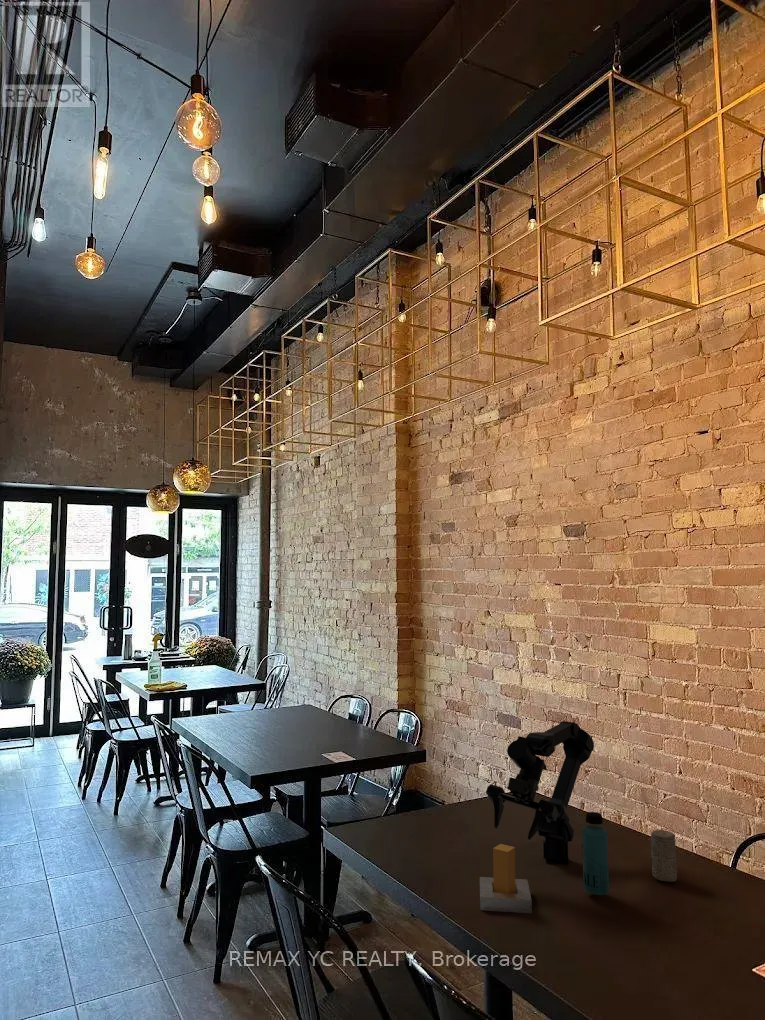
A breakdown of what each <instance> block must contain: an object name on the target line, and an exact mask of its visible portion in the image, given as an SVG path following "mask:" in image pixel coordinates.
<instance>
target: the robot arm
mask: <svg viewBox="0 0 765 1020" xmlns="http://www.w3.org/2000/svg"><path fill="white" fill-rule="evenodd" d="M560 744H562V745H563V746H562V749H563V751H564V756H565V757H564V761H563V763H562V765H561V768H560V772H559V774H558V778H557V781H556V784H555V786H554V790H553V792H552V794H551V797H550V799H549V800H545V799H539V801H538V802H537V801H535V797H536V793H537V792H538V791H539V788H540V787H539V784H540V781H541V776H542V775H543V774H542V773H543V771H547V769H548V768H547V765H546V763H545V760H544V759H543V758H541V757H545V758H549V757H551V756H552V754H554V753H555V752H556V747H557V746H558V745H560ZM594 748H595V741H594V740H593V738H592V736H591V735H590V733H588V732H587V731H585V730H584V729H582V728H581V727H580V725H579V724H578V723H576V722H573V721H566V720H562V721H560V722H559V724H557V725H555V726H553V727H551V728H549V729H547V730H545V731H535V732H529V733H527V735H526V737H525V736H519V735H518V736H517V739H516V740H514V741H512V742H510V744H509V745H507V749H506V753H507V756H508V757H509V759H511V761H512V762H513V763H514V764H515V765H516V766H517V768H519V769H520V770H519V772H518V773H517V774H516V775H515V776H516V777H515V778H514V777H511V776H509V779H508V784H507V787H506V788H507V790H508V791H509V792H510V793H511V794H510V793H507V792H506V791H505V790H504V788H503V787H501V786H499V785H495V784H492V783H491V784H489V785H488V786H487V787H486V791H485V794H486V795H487V797H488V798H489V800H490V801H491V803H492V804H493V808H494V811H493V812H494V819H493V820H494V821H493V823H494V829H496V830H497V829H498V827H499V825H500V822H501V818H502V816H503V813H504V810H505V805H504V803H506V802H510V803H512V804H515V805H518V806H522V807H525V808H528V809H531V810H534V812H535V813H534V818H533V821H532V824H531V825H530V828H529V831H528V833H527V835H528V836H527V840H529V841H531V839H532V838H533V837H534V836H535V835H536V833H537V832H538V837H539V836H540V837H543V838H544V839H543V840H542V843H541V844H542V845H541V847H542V849H541V850H542V858H543V859H544V861H545V863H546V864H559V865H570V860H569V842H572V841H573V839H574V833H575V830H574V829H573V827H572V826H571V824H570V816H569V811H568V806H569V802H570V801H571V800H570V799H571V797H572V795H573V794H572V793H573V790H574V787H575V784H576V780H577V777H578V776H579V771H580V768H581V766H582V765H583V764H584V763H586V762H587V761H588V760H589V759H590V757H591V754H592V752H593V751H594Z"/></svg>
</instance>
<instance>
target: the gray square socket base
mask: <svg viewBox="0 0 765 1020" xmlns="http://www.w3.org/2000/svg"><path fill="white" fill-rule="evenodd" d="M515 884H516V894H511V893H494V878H493V877H491V876H490V877H489V876H479V899H480V900H479V902H480V911H485V912H486V911H489V912H501V913H502V912H505V913H517V914H518V913H519V914H521V913H522V914H532V913H533V911H532V910H533V909H532V907H533V906H532V903H533V902H532V901H533V900H532V897H531V891H530V887H529V882H528V879H524V878H515Z"/></svg>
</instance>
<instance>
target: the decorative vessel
mask: <svg viewBox="0 0 765 1020" xmlns="http://www.w3.org/2000/svg"><path fill="white" fill-rule="evenodd" d="M675 836H676V835H675V834H674V833H673V832H672V831H668V830H665V829H655V830H652V831H651V834H650V850H651V852H650V853H651V855H650V856H651V867H652V869H651V871H652V876H653V878H654V879H656V880H658V881H662V882H668V883H674V882H676V881H677V878H678V865H677V859H676V858H677V856H676V853H677V852H676V837H675Z"/></svg>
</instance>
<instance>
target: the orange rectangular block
mask: <svg viewBox="0 0 765 1020" xmlns="http://www.w3.org/2000/svg"><path fill="white" fill-rule="evenodd" d="M492 850H493V851H492V854H493V855H492V861H493V862H492V863H493V867H492V868H493V877H492V878H494V893H511V894H516V884H515V879H516V847H515V846H511V845H506V844H504V843H499V844H498V845H496V846H495V847H493V848H492Z"/></svg>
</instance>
